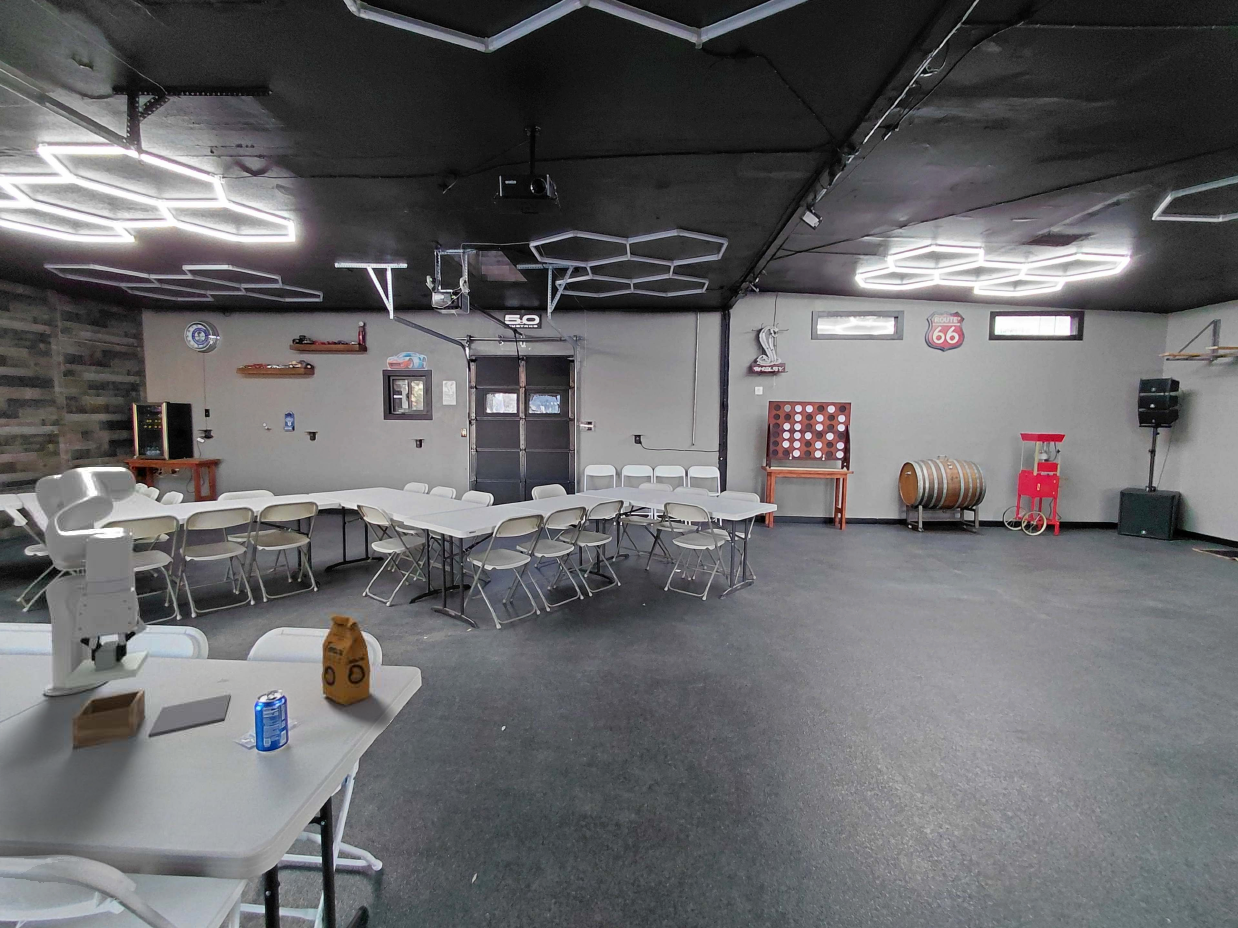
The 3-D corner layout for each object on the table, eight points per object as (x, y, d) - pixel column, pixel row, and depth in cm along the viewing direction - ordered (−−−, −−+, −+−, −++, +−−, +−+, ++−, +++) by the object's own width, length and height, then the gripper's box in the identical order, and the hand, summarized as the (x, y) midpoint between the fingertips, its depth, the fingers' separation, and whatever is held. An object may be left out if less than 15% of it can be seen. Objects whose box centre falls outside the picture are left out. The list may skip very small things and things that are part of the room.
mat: (162, 709, 129) (162, 707, 129) (230, 696, 136) (230, 693, 136) (148, 736, 117) (148, 733, 117) (224, 719, 125) (224, 717, 125)
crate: (88, 727, 120) (88, 699, 120) (144, 716, 125) (144, 689, 125) (72, 749, 112) (72, 718, 111) (133, 736, 117) (133, 706, 117)
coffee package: (338, 710, 130) (338, 628, 129) (317, 696, 137) (317, 617, 137) (375, 696, 138) (376, 618, 137) (354, 682, 145) (354, 608, 145)
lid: (84, 667, 120) (84, 641, 120) (147, 657, 126) (147, 633, 126) (65, 687, 111) (65, 660, 110) (135, 676, 117) (135, 650, 117)
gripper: (52, 594, 110) (52, 675, 111) (151, 585, 119) (151, 660, 120) (65, 585, 116) (66, 662, 117) (159, 577, 125) (159, 648, 126)
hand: (109, 660), depth 118 cm, fingers closed on lid, 3 cm apart
